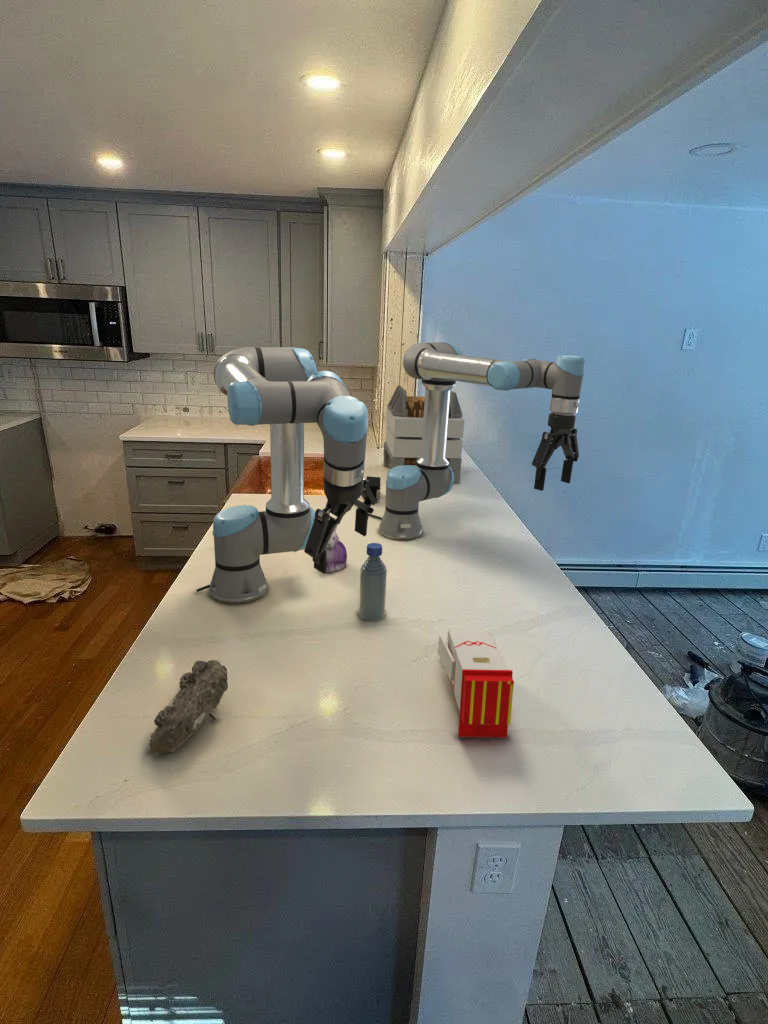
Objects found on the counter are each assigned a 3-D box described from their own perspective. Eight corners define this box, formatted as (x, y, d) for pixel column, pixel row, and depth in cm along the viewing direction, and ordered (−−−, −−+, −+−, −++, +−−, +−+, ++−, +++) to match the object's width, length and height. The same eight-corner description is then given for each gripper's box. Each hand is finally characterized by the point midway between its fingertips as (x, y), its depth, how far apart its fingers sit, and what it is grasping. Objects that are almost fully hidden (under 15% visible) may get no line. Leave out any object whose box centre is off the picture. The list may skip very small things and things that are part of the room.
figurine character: (380, 506, 230) (380, 491, 243) (381, 489, 227) (381, 475, 240) (364, 506, 230) (364, 491, 243) (364, 489, 226) (365, 474, 240)
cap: (377, 558, 139) (377, 550, 138) (363, 554, 140) (364, 546, 140) (384, 553, 142) (385, 544, 141) (371, 549, 144) (371, 541, 143)
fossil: (177, 661, 117) (228, 629, 112) (210, 691, 120) (261, 661, 115) (124, 747, 97) (183, 713, 92) (164, 781, 100) (223, 749, 95)
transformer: (382, 463, 289) (386, 382, 275) (445, 464, 293) (451, 384, 279) (390, 482, 257) (394, 392, 243) (460, 483, 261) (468, 394, 247)
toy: (488, 613, 130) (523, 677, 101) (484, 667, 133) (517, 744, 104) (435, 612, 130) (455, 676, 101) (432, 666, 133) (451, 743, 103)
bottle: (376, 623, 143) (379, 554, 136) (354, 615, 146) (356, 548, 139) (389, 612, 148) (392, 545, 142) (367, 605, 151) (369, 539, 145)
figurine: (324, 575, 166) (325, 528, 161) (312, 561, 175) (312, 516, 170) (353, 570, 170) (355, 523, 165) (340, 557, 179) (341, 512, 174)
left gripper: (315, 521, 97) (315, 596, 112) (398, 452, 112) (389, 526, 127) (282, 501, 99) (287, 577, 114) (368, 436, 114) (362, 511, 129)
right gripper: (548, 419, 148) (537, 496, 155) (598, 411, 163) (586, 482, 171) (525, 414, 153) (515, 489, 160) (575, 407, 169) (564, 476, 176)
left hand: (341, 550), depth 121 cm, fingers open, 13 cm apart
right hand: (552, 485), depth 166 cm, fingers open, 13 cm apart
